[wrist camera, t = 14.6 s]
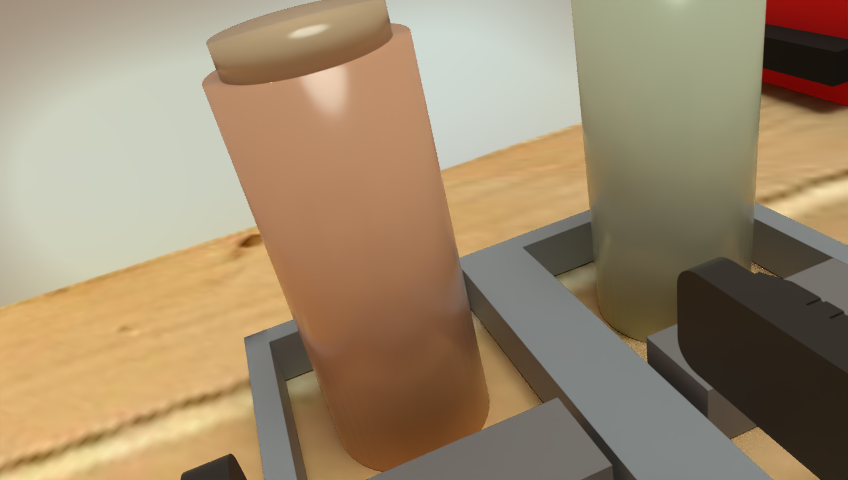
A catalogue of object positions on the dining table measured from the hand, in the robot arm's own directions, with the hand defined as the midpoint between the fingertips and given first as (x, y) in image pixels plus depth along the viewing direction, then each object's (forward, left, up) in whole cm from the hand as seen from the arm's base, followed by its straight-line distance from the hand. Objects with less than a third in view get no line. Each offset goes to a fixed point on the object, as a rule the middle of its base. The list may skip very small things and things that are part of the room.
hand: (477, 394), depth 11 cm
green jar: (+12, +11, -10) cm, 19 cm away
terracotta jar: (0, +11, -10) cm, 15 cm away
